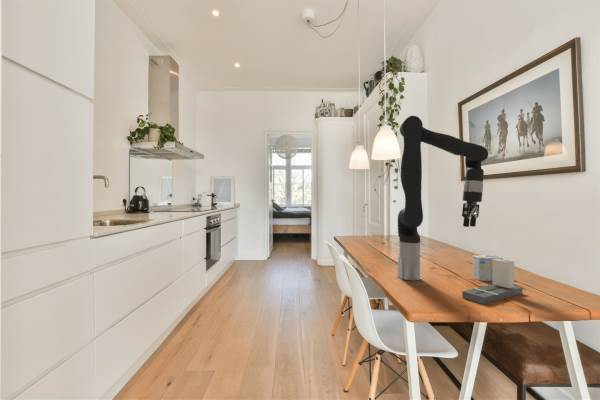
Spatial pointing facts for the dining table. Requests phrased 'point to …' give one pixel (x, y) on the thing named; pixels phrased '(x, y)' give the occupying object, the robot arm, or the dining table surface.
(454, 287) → the dining table surface
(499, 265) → the cap
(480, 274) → the light bulb box
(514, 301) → the dining table surface
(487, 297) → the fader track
